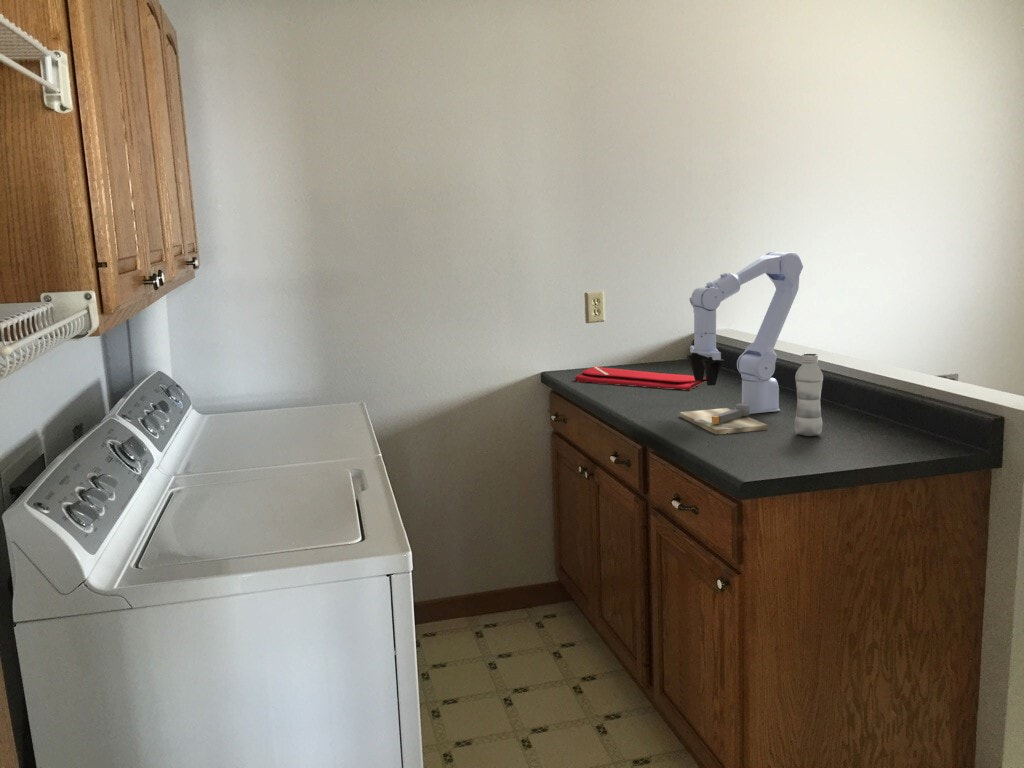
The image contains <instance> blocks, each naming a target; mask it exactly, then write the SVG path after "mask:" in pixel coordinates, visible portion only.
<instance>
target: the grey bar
mask: <svg viewBox="0 0 1024 768" xmlns="http://www.w3.org/2000/svg"><path fill="white" fill-rule="evenodd" d="M742 416H747V417H749V416H751V414H750V404H743V403H742V402H741V403H736V404H735V409H731V411H727V412H724V413H721V414H717V415H714V416H712V424H718V423H723V422H726V421H729V420H732V419H736V418H739V417H742Z"/></svg>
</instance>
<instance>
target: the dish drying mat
mask: <svg viewBox="0 0 1024 768" xmlns="http://www.w3.org/2000/svg"><path fill="white" fill-rule="evenodd" d="M574 379H575V382H576V381H579V382H578V383H585V382H593V383H592V384H596V383H607V384H606V385H608V384H620V385H634V386H635V385H636V386H646V387H660V388H674V389H686V390H690V389H691V388H693V387H694V386H696V385H698V384H700V383H702V382H704V381H706V377H704V378H703V380H700V381H695V379H694V375H689V374H676V373H675V374H674V373H673V374H672V373H663V372H662V373H660V372H651V371H641V370H630V369H622V368H620V369H619V368H610V367H601V366H593V367H589V368H586V369H584V370H582V373H579V374H577V375H575V377H574ZM620 385H619V386H620Z"/></svg>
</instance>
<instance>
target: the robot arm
mask: <svg viewBox="0 0 1024 768" xmlns="http://www.w3.org/2000/svg"><path fill="white" fill-rule="evenodd" d="M803 268H804V265H803V263H802V259H801V257H800V256H799V255H798V253H796V252H792V251H791V252H790V251H789V252H776V251H768V252H767V253H765V254H763V255H761V256H759V258H757V259H756V260H755V261H753V262H752V263H749V264H748V265H747V266H744V267H743V268H742V269H740V270H739V271H737V272H736V273H734V274H733V273H731V272H727V273H726V272H723V273H721V274H720V275H719V276H720V277H718V278H717V279H715V280H713V281H712V282H711V281H708V282H707V283H706V285H705V286H699V287H696V288H695V289H694V290H693V292H692V293H691V296H690V297H689V303H690V305H691V307H692V308H693V324H694V325H693V338H694V339H693V344H694V345H690V346H689V352H690V353H691V354H687V355H686V358H687V360H688V361H689V363H690V366H691V369H692V370H691V371H692V373H693V375H692V376H694V379H695V381H700V380H703V378H706V382H707V383H706V385H707V386H708V387H709V386H716V385H717V380H718V377H719V372H720V370H721V368H722V366H723V365H724V362H725V360H724V359H722V352H721V351H719V350H718V348H717V309H718V308H719V306H720V305H721V303H722V302H723V301H725V300H726V299H728V298H730V297H732V296H733V295H736V294H737V293H739V292H740V290H741V287H742V285H744V284H746V283H748V282H750V281H753V280H754V279H756V278H757V277H760V276H763V275H764V274H766V276H767V278H768V279H770V281H771V282H772V283H773V285H774V287H775V291H774V293H773V296H772V299H771V301H770V303H769V305H768V307H767V311H766V312H765V315H764V318H763V320H762V322H761V324H760V327H759V329H758V332H757V335H756V337H755V339H754V341H753V342H751V343H750V344H748V345H747V346H746V347H745V349H744V351H743V353H741V354H740V355H739V356H738V358H737V360H736V368H737V370H738V372H739V374H740V377H741V404H742V403H743V404H750V415H753V414H760V413H761V414H762V413H770V412H780V411H781V409H780V407H779V406H780V404H779V401H780V399H779V398H780V394H779V393H780V388H779V387H780V386H779V383H778V381H777V379H776V378H774V377H772V376H773V375H774V374H775V370H776V361H777V358H778V355H777V354H776V351H775V349H774V348H775V346H776V344H777V342H778V339H779V337H780V334H781V332H782V329H783V327H784V324H785V322H786V320H787V318H788V315H789V313H790V310H791V308H792V305H793V303H794V301H795V299H796V296H797V294H798V291H799V288H800V286H799V285H800V276H801V273H802V270H803Z"/></svg>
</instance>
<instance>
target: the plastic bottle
mask: <svg viewBox="0 0 1024 768" xmlns="http://www.w3.org/2000/svg"><path fill="white" fill-rule="evenodd" d="M818 359H819V354H817V353H802V354H801V366H800V367H799V368H798V369H797V371H796V372H795V376H794V379H795V387H796V396H797V397H796V399H797V400H796V402H797V403H796V415H795V419H794V424H793V425H794V431H795V432H796V434H797V435H801V436H806V437H814V436H819V435H820V434H821V433H822V430H823V425H824V424H823V419H822V408H821V397H822V396H821V395H822V389H823V381H824V373H823V372H822V370H821V368H820V367H819V366H818V364H817V363H819V360H818Z"/></svg>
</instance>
